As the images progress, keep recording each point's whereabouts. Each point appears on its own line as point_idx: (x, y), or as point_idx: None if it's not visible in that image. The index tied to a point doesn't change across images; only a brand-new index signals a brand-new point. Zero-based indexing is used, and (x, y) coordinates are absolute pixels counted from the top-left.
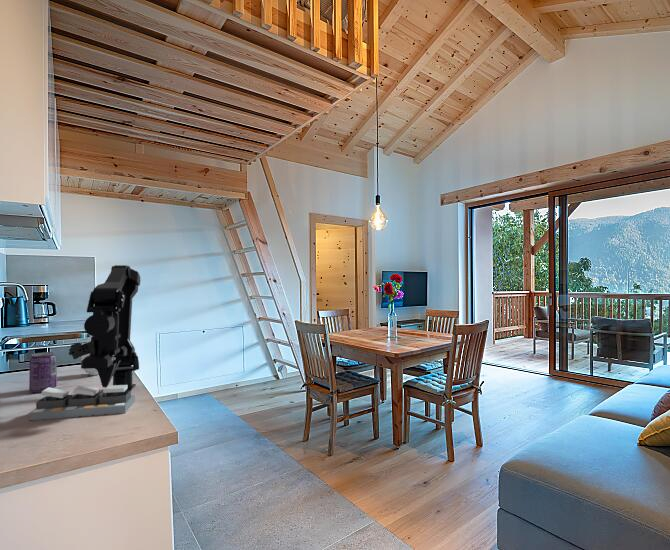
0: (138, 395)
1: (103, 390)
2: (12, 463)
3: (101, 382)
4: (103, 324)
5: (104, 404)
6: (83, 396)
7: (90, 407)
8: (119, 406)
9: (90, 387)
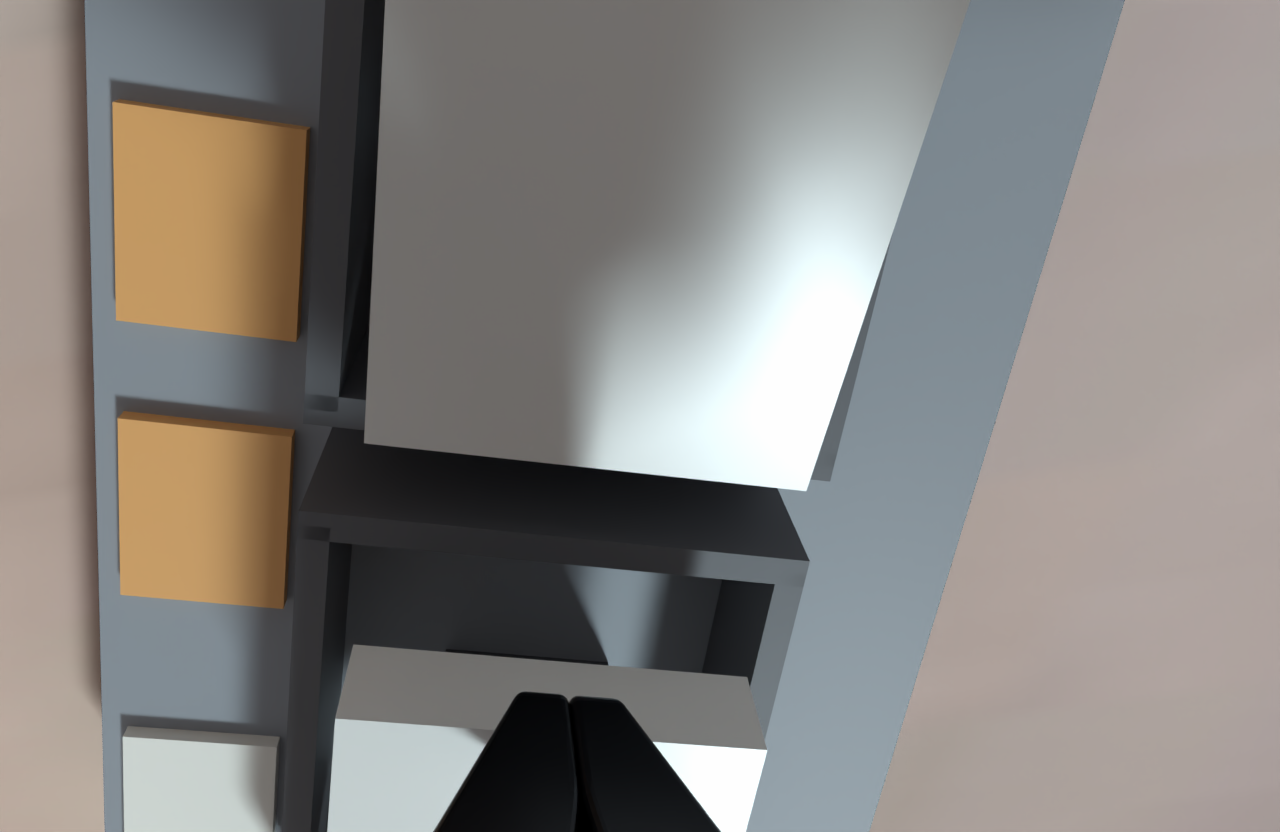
0: (1173, 829)
1: (343, 695)
2: None
3: (463, 794)
4: None
5: (261, 542)
6: None
7: (116, 275)
8: (110, 804)
9: (856, 254)
